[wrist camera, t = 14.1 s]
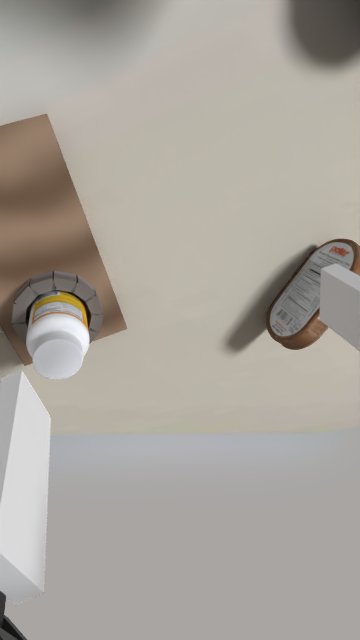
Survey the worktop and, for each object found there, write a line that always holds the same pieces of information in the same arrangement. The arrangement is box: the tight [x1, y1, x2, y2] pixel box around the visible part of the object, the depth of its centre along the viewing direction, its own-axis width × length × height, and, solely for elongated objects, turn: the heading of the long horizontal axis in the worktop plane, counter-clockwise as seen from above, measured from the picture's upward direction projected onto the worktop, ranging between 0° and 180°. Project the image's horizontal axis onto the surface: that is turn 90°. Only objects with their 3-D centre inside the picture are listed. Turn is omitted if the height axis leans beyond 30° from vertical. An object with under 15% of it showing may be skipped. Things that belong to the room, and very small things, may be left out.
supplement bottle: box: [26, 290, 90, 380], centre depth 32 cm, size 5×5×10 cm
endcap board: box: [0, 114, 127, 366], centre depth 33 cm, size 22×12×4 cm, turn 13°
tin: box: [266, 239, 360, 350], centre depth 43 cm, size 15×3×8 cm, turn 144°
